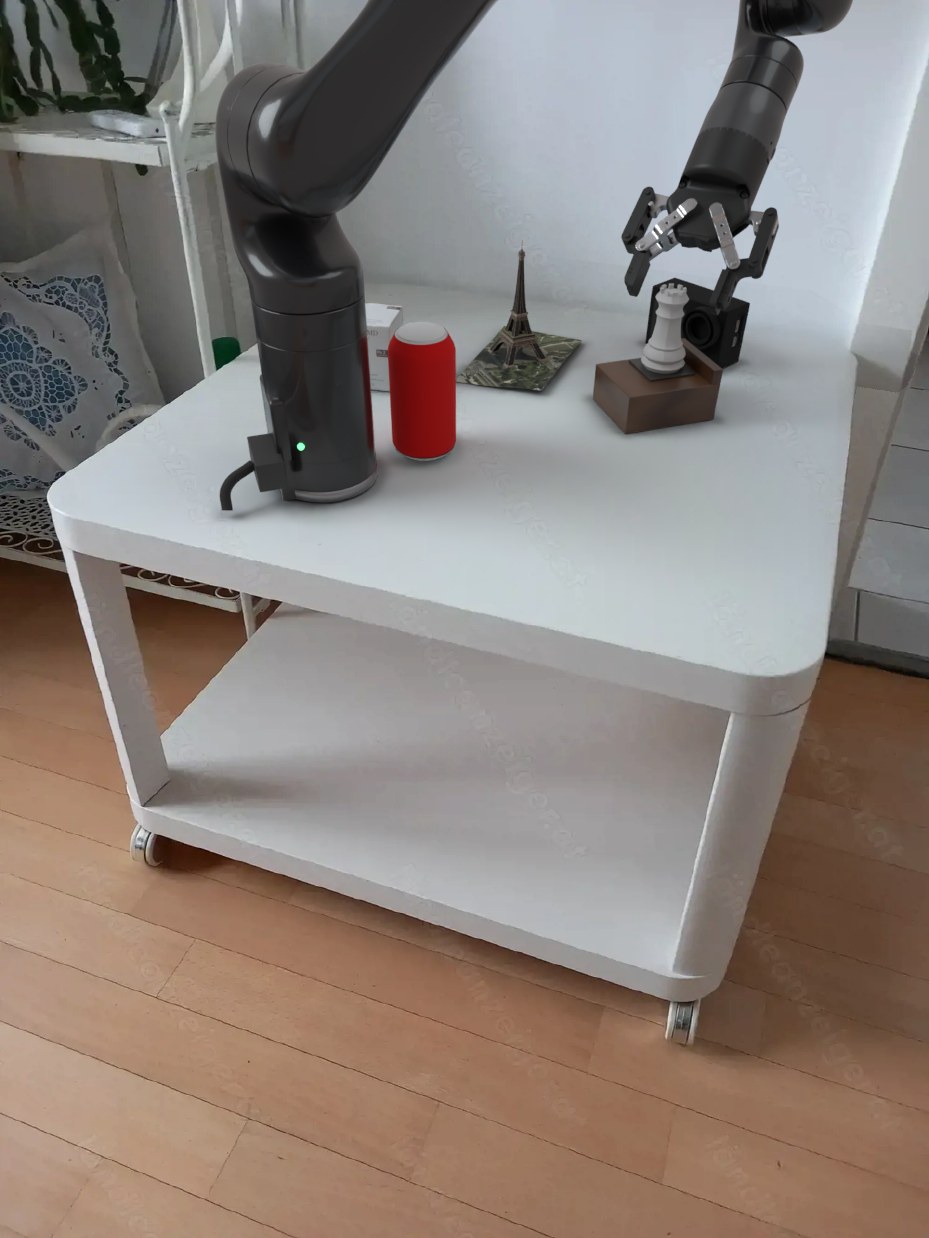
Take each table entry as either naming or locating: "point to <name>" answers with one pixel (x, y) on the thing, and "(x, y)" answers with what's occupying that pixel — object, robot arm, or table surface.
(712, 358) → the digital camera
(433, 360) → the beverage can
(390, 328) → the product carton
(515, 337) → the eiffel tower figurine
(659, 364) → the rook chess piece
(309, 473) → the robot arm
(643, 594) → the table surface
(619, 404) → the wooden stepped block
